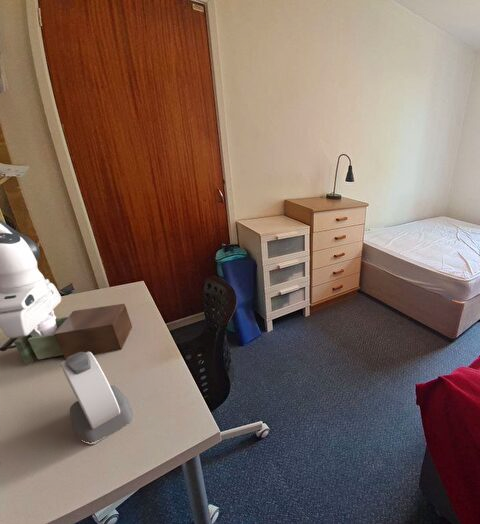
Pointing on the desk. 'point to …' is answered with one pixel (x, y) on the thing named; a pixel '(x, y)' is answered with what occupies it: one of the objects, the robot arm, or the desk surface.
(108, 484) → the desk surface
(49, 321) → the smoothie
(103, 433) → the headphone stand
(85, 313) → the cabinet
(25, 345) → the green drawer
